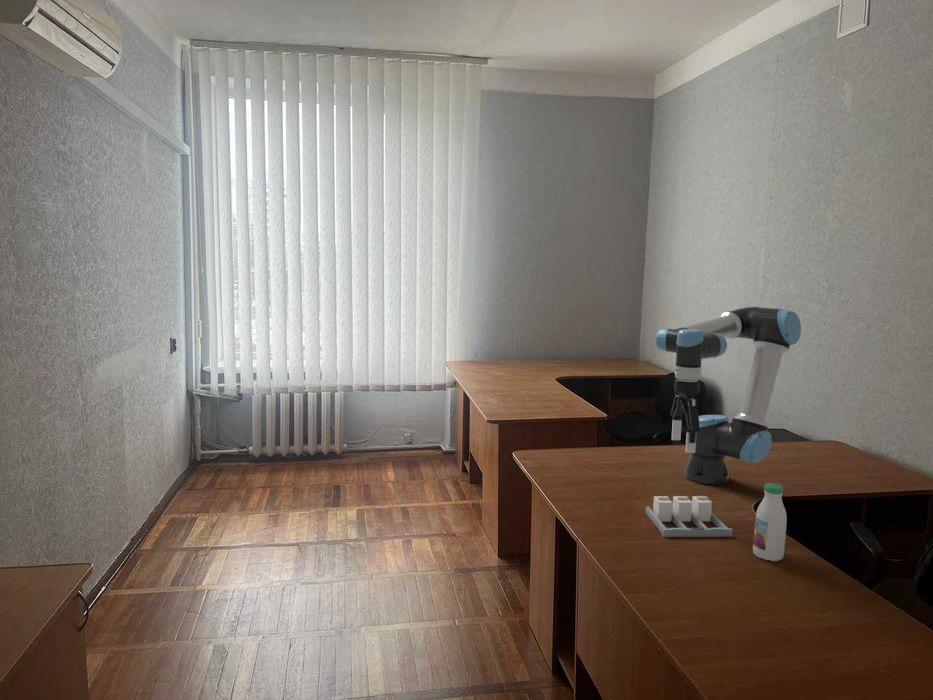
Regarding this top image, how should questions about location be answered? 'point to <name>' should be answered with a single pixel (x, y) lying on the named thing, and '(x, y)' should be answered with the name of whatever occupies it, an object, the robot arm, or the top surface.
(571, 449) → the top surface
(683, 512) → the white ridged block
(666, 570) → the top surface
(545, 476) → the top surface
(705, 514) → the white rectangular block
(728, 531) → the switch board
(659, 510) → the white block with handle
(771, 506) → the milk bottle
